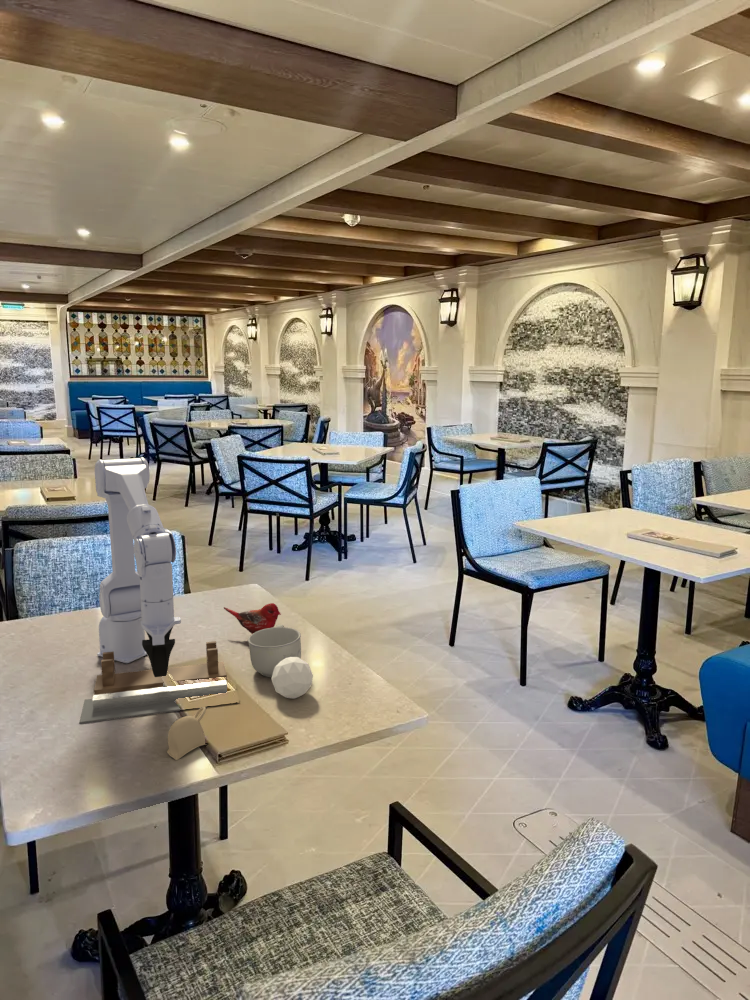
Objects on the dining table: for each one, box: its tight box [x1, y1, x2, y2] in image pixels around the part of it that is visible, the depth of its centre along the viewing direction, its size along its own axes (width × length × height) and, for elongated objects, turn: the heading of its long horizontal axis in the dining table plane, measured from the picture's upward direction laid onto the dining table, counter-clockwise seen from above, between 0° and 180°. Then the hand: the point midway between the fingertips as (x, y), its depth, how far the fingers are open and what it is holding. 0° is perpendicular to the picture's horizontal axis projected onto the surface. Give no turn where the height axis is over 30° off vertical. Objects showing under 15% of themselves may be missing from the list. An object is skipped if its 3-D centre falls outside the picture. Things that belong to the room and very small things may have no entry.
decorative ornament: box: [166, 707, 207, 761], centre depth 114 cm, size 4×8×5 cm, turn 142°
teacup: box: [247, 624, 302, 678], centre depth 145 cm, size 14×11×8 cm
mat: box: [78, 698, 181, 724], centre depth 130 cm, size 28×9×1 cm, turn 107°
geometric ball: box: [271, 657, 314, 699], centre depth 133 cm, size 8×8×8 cm
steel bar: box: [92, 680, 228, 712], centre depth 130 cm, size 24×2×2 cm, turn 107°
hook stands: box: [93, 640, 227, 695], centre depth 139 cm, size 25×7×6 cm, turn 107°
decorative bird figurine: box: [223, 602, 282, 635], centre depth 161 cm, size 3×18×10 cm, turn 58°
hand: (160, 667), depth 129 cm, fingers open, 7 cm apart
